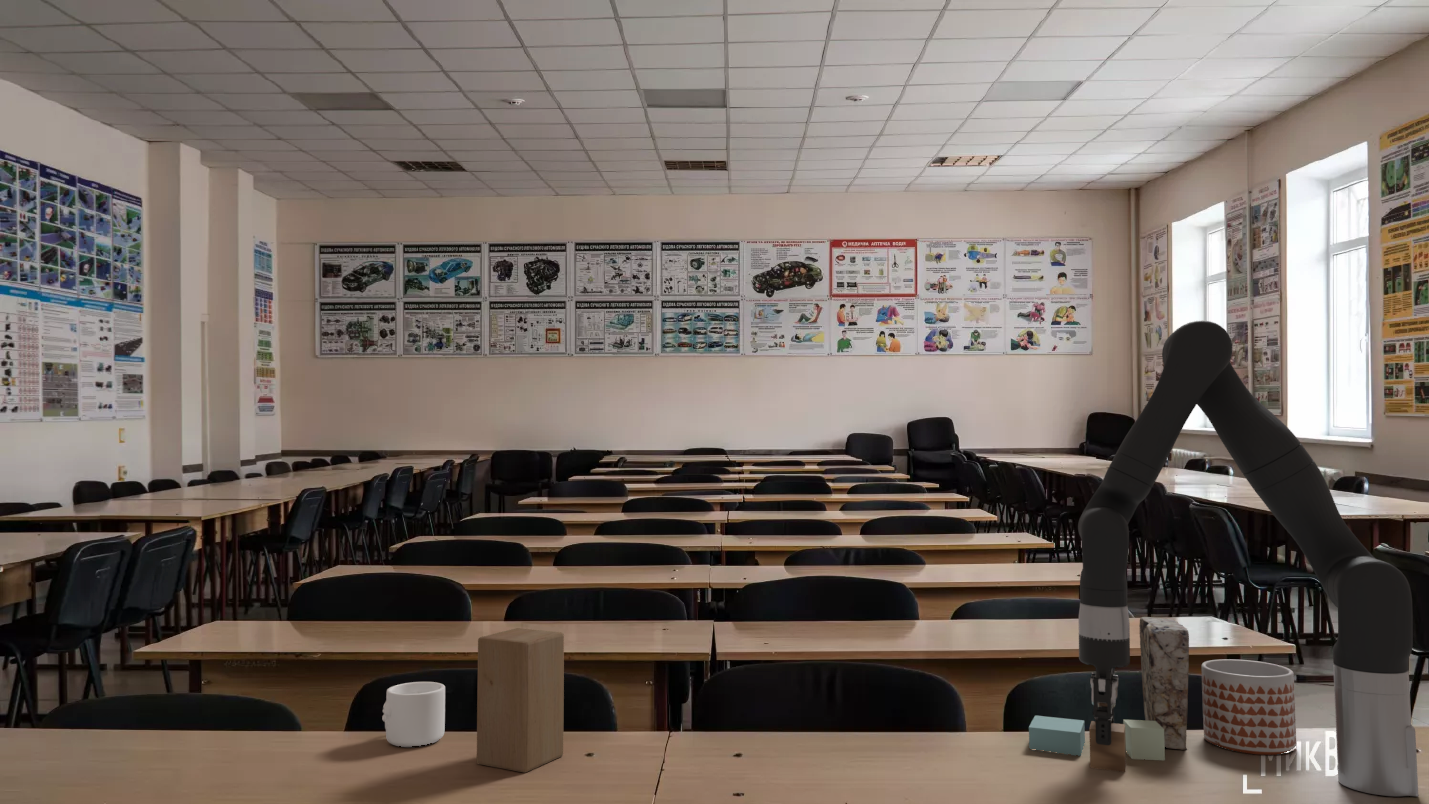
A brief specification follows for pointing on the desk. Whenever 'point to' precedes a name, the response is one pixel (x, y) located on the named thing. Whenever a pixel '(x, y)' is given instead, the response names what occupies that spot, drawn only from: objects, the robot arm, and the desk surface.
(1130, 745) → the sage block
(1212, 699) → the planter
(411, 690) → the mug
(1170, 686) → the stone block
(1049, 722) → the teal pedestal
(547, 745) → the wooden block
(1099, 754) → the walnut block
